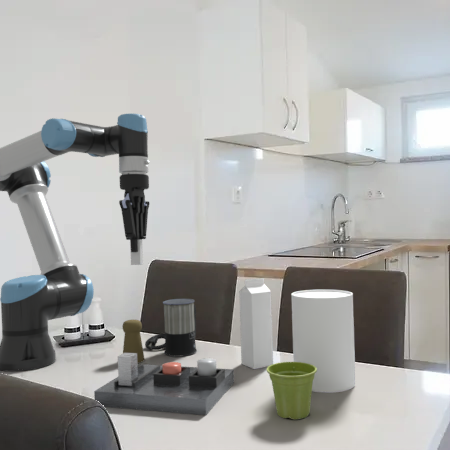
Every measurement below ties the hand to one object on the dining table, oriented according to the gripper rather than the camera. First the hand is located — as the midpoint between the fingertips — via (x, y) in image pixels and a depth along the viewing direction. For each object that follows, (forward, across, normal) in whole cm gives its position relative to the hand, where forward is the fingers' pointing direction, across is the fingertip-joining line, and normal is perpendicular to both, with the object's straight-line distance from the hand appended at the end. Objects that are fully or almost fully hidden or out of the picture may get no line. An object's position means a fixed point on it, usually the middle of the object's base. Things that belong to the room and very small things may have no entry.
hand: (136, 264), depth 132 cm
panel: (+26, -19, -16) cm, 36 cm away
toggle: (+23, -24, -9) cm, 35 cm away
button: (+23, -19, -17) cm, 34 cm away
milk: (+27, +6, -30) cm, 41 cm away
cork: (+27, +4, +4) cm, 27 cm away
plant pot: (+27, -25, -44) cm, 57 cm away
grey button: (+22, -19, -25) cm, 38 cm away
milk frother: (+27, +16, -2) cm, 31 cm away
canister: (+27, -5, -48) cm, 55 cm away
